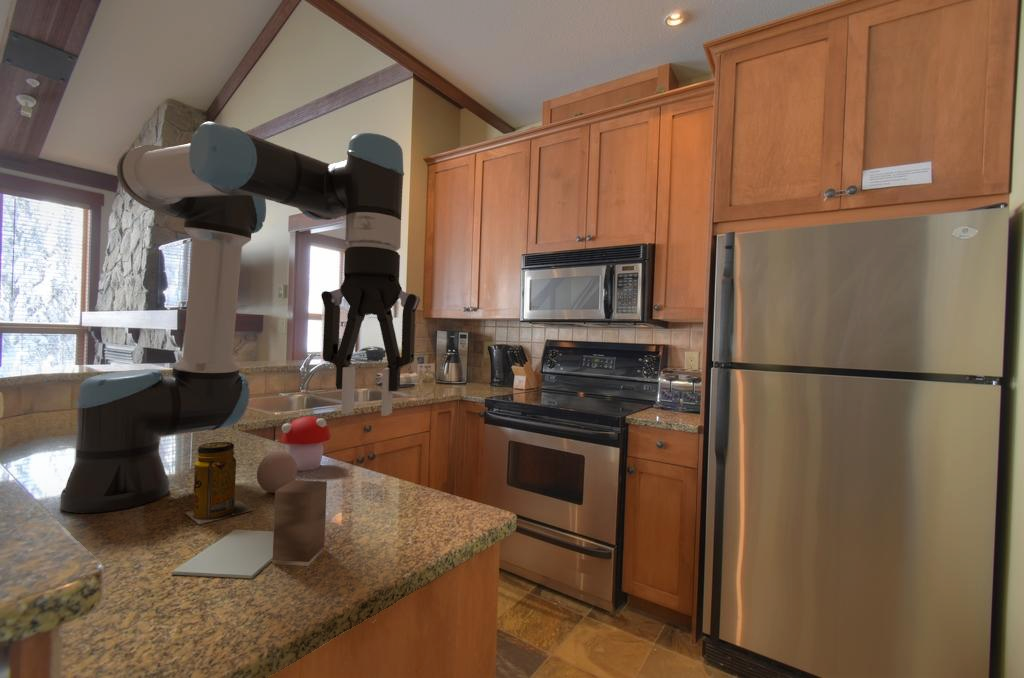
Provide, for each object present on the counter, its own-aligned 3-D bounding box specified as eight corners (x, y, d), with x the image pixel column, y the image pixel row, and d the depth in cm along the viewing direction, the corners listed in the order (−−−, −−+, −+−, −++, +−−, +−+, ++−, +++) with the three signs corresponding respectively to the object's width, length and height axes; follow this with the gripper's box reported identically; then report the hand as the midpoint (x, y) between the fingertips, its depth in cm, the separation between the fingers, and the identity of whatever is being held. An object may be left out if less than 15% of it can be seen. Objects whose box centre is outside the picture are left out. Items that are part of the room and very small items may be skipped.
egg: (265, 486, 94) (267, 445, 94) (302, 486, 95) (303, 446, 95) (249, 498, 87) (250, 454, 87) (288, 498, 88) (290, 455, 88)
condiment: (184, 513, 79) (187, 443, 79) (238, 501, 86) (241, 437, 86) (198, 525, 75) (201, 451, 75) (254, 511, 81) (257, 443, 81)
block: (272, 563, 63) (275, 491, 63) (291, 547, 68) (293, 479, 68) (308, 565, 63) (311, 492, 63) (324, 549, 68) (326, 481, 68)
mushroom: (269, 469, 106) (271, 417, 106) (306, 458, 116) (308, 410, 116) (304, 475, 102) (306, 421, 102) (339, 464, 112) (341, 414, 112)
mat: (171, 574, 59) (171, 571, 59) (235, 532, 72) (235, 529, 72) (251, 578, 59) (251, 575, 59) (300, 535, 72) (301, 532, 72)
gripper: (297, 242, 62) (291, 415, 62) (430, 246, 61) (424, 420, 61) (322, 252, 69) (316, 406, 69) (440, 256, 69) (435, 411, 69)
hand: (367, 413), depth 65 cm, fingers open, 5 cm apart
